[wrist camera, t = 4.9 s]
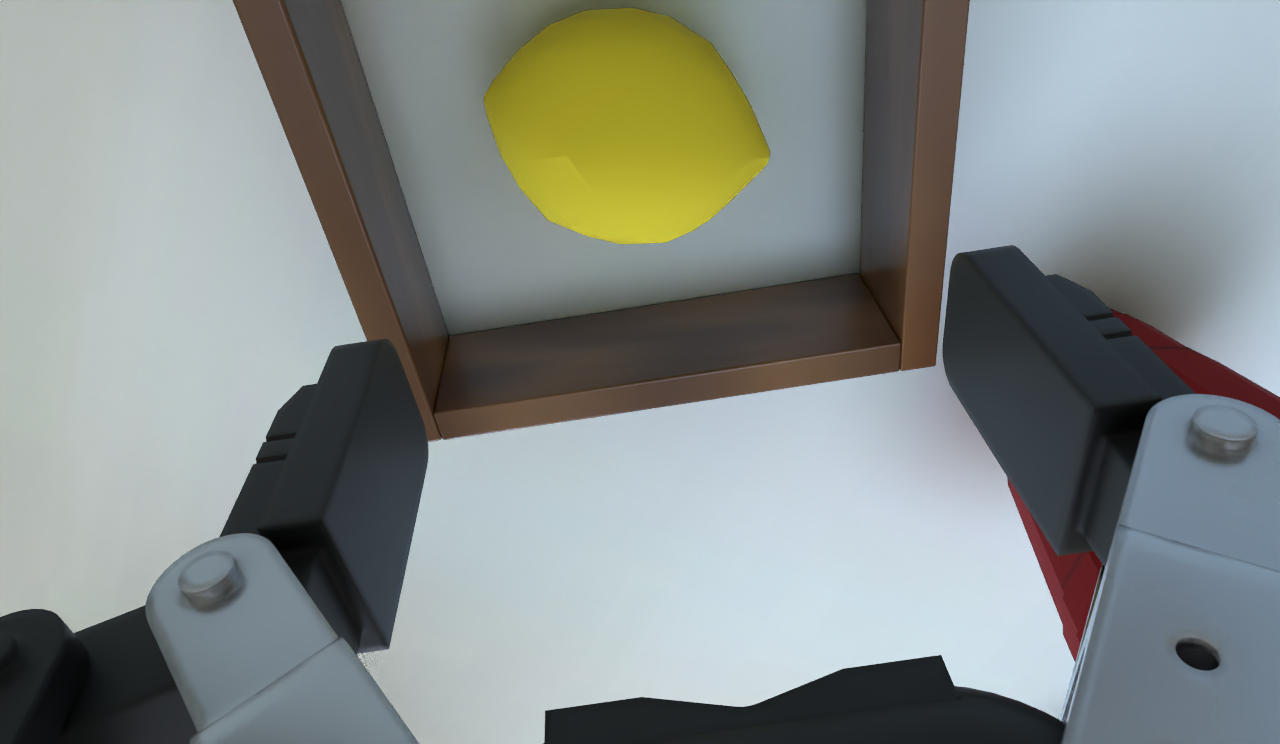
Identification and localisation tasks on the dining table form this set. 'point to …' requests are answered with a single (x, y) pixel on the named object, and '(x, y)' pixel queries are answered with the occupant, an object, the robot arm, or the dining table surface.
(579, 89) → the lemon
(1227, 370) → the plastic cup
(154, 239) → the dining table surface
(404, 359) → the wooden box
